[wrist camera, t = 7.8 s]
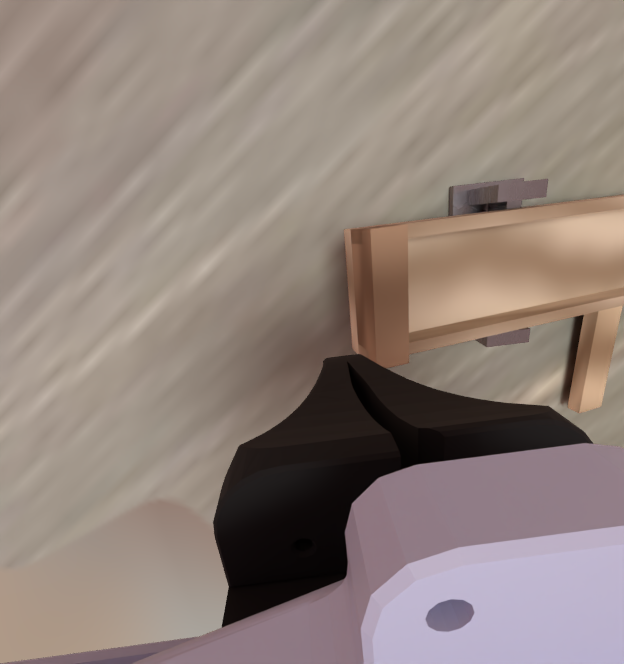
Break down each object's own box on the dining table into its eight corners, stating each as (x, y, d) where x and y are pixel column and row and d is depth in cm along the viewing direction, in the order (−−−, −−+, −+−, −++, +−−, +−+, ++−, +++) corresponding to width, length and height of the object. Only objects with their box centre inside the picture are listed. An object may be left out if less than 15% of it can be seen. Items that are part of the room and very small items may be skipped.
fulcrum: (504, 326, 21) (541, 345, 18) (445, 333, 21) (472, 353, 18) (518, 179, 18) (565, 170, 15) (449, 187, 18) (482, 179, 15)
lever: (588, 401, 23) (634, 421, 21) (361, 471, 19) (383, 507, 17) (630, 193, 19) (695, 187, 16) (344, 229, 15) (370, 229, 12)
